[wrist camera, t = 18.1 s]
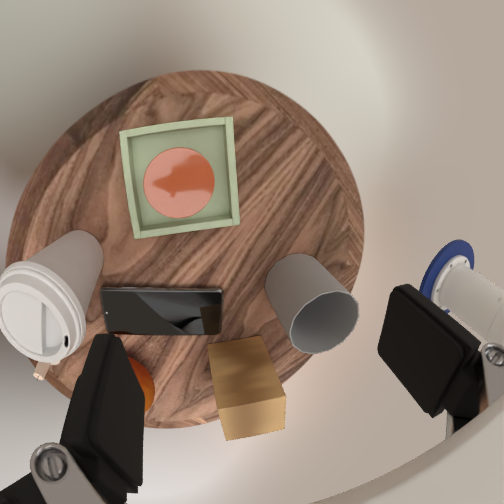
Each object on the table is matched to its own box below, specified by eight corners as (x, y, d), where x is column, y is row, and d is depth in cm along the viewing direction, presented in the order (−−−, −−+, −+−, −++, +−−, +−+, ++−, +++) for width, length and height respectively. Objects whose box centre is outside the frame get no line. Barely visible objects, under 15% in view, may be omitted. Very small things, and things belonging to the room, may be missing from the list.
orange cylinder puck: (207, 143, 28) (211, 143, 23) (212, 200, 31) (217, 213, 26) (148, 151, 27) (139, 153, 22) (155, 208, 30) (148, 223, 24)
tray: (229, 118, 28) (232, 116, 26) (236, 218, 33) (240, 224, 31) (124, 132, 26) (119, 131, 24) (138, 232, 31) (134, 239, 29)
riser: (261, 335, 40) (286, 395, 29) (263, 371, 43) (284, 429, 33) (206, 344, 39) (217, 409, 28) (214, 380, 42) (226, 441, 31)
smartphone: (221, 335, 38) (106, 334, 33) (220, 330, 38) (108, 329, 34) (224, 289, 35) (98, 287, 31) (223, 285, 36) (100, 283, 32)
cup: (255, 300, 38) (276, 348, 29) (280, 245, 36) (311, 282, 26) (306, 312, 41) (336, 356, 32) (332, 263, 38) (371, 299, 29)
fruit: (151, 344, 37) (148, 385, 30) (158, 390, 41) (158, 429, 33) (83, 340, 34) (70, 378, 27) (98, 386, 38) (91, 423, 31)
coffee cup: (91, 302, 33) (57, 384, 19) (38, 257, 29) (-21, 322, 15) (130, 252, 32) (99, 328, 18) (72, 201, 28) (4, 247, 14)
